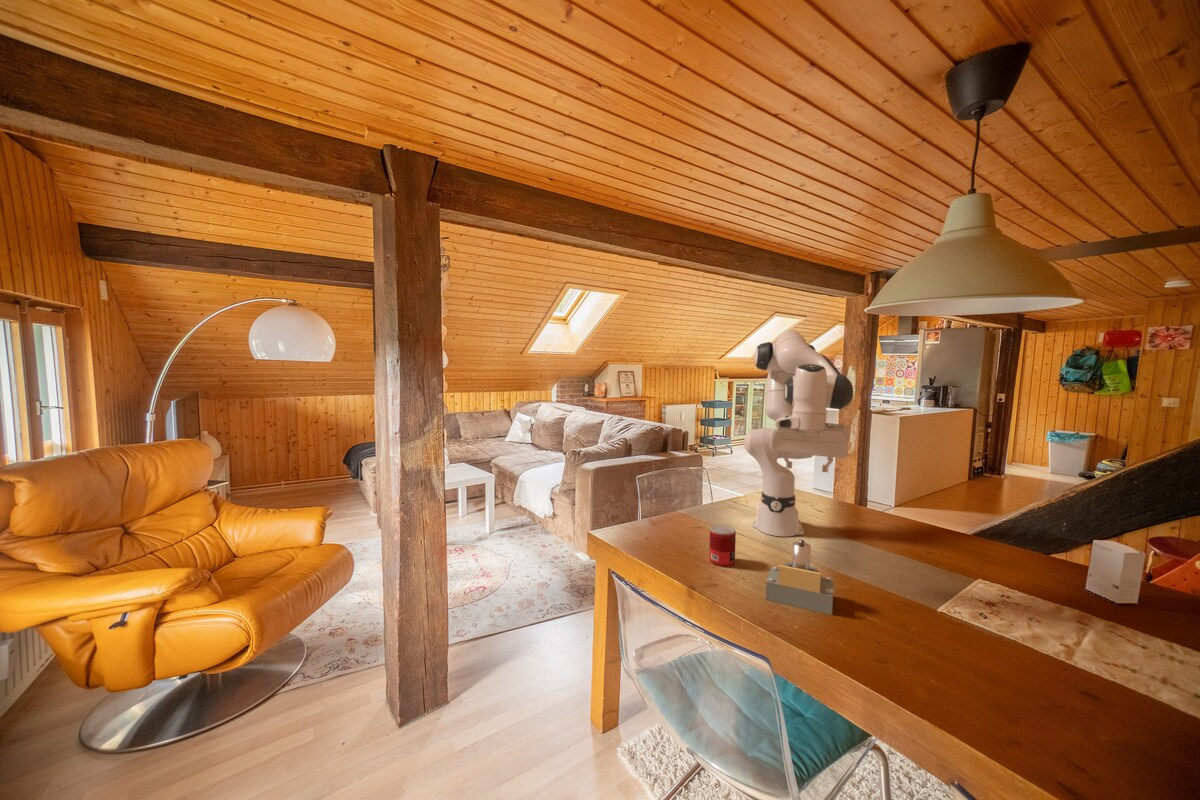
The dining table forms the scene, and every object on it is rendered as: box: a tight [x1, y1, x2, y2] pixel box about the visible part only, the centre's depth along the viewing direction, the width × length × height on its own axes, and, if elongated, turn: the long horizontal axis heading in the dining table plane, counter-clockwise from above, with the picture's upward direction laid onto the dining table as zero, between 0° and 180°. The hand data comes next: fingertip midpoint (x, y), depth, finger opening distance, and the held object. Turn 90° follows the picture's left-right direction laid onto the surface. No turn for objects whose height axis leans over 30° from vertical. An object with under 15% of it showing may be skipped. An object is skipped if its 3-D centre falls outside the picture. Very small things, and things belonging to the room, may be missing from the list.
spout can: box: [791, 539, 812, 571], centre depth 123 cm, size 4×4×11 cm
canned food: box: [708, 524, 737, 568], centre depth 147 cm, size 8×8×11 cm
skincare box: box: [1085, 539, 1147, 604], centre depth 124 cm, size 8×6×15 cm
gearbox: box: [765, 562, 835, 616], centre depth 124 cm, size 10×16×10 cm, turn 62°
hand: (806, 469), depth 131 cm, fingers open, 8 cm apart
